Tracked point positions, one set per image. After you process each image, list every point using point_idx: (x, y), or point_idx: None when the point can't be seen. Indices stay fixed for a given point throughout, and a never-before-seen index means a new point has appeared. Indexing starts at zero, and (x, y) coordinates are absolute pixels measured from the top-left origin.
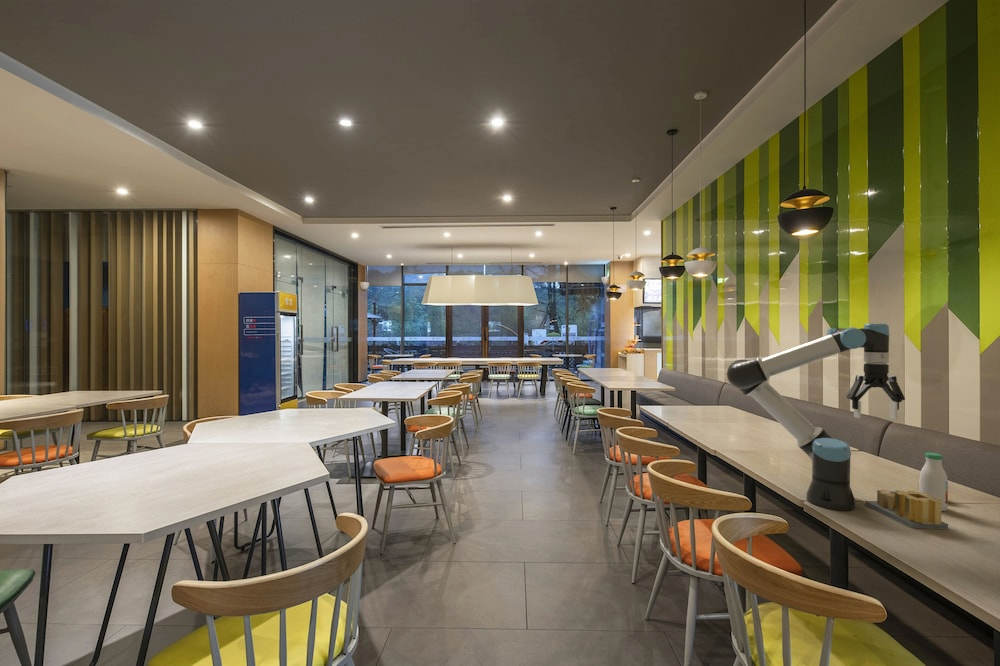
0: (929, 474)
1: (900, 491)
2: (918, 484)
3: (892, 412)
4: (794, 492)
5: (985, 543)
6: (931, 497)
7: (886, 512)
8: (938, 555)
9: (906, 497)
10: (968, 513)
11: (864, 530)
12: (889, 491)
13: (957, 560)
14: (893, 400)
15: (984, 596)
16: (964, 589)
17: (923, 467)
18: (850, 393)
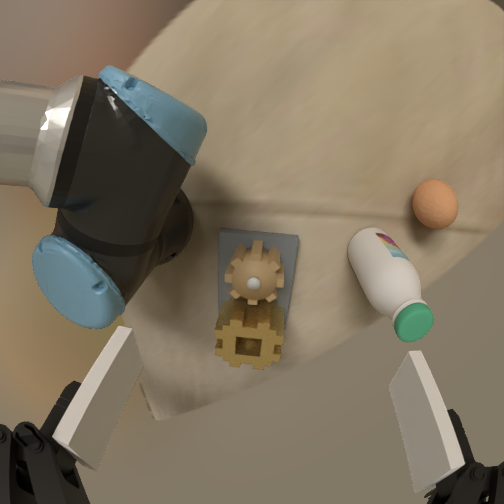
0: (370, 302)
1: (233, 325)
2: (424, 188)
3: (409, 405)
4: None
5: (283, 368)
6: (269, 354)
7: (219, 286)
8: (187, 380)
9: (215, 350)
10: None
11: (140, 325)
12: (247, 280)
13: (199, 388)
14: (453, 479)
15: (169, 415)
16: (161, 409)
17: (385, 288)
18: (2, 474)
